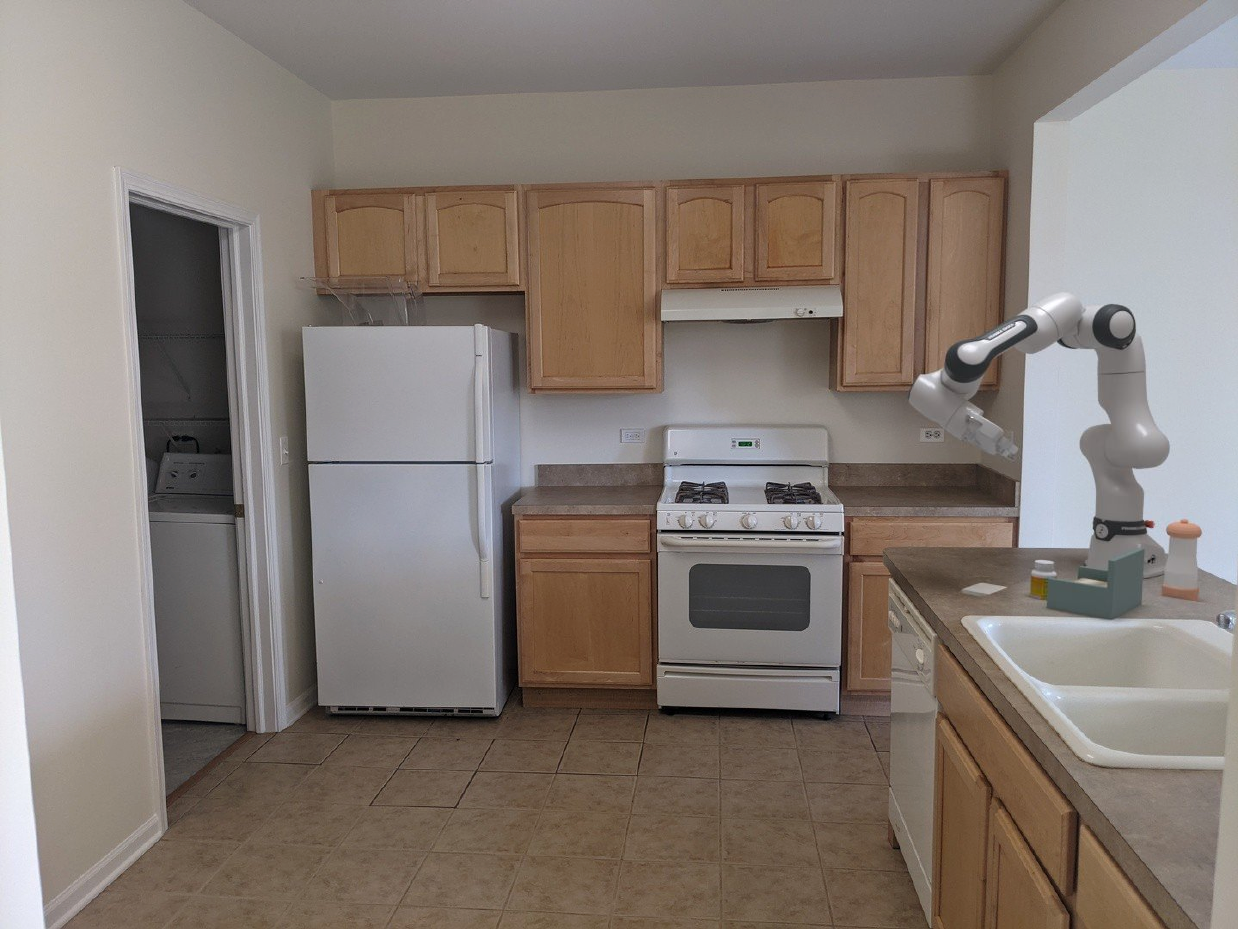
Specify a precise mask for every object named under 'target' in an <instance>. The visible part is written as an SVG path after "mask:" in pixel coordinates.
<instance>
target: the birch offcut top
mask: <svg viewBox="0 0 1238 929" xmlns="http://www.w3.org/2000/svg"><path fill="white" fill-rule="evenodd" d="M1073 582H1079V583H1085V584H1092V585H1098V586H1104V587H1107V582H1103V581H1097V580H1091V579H1085V578H1081V579H1078V578H1077V579H1075V580H1073Z"/></svg>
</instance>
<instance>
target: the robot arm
mask: <svg viewBox="0 0 1238 929" xmlns="http://www.w3.org/2000/svg"><path fill="white" fill-rule="evenodd" d="M1136 331H1137V323H1136V319H1135V316H1134V314H1133V312H1132V310H1130V308H1128V307H1127V306H1125V305H1120V304H1118V303H1117V304H1115V303H1109V304H1108V303H1107V304H1091V305H1086V306H1083V305H1082V302H1081V301H1080V299H1079V298H1078V297H1077V296H1076V295H1074V294H1073V293H1071V292H1068V291H1060V292H1059V291H1058V292H1055V293H1054V294H1051V295H1048V296H1047V297H1043V298H1042V299H1040V300H1039V301H1037V302H1035V303H1034V304H1032V305H1030V306H1029V307H1027V308H1025V309H1024V310H1023V311H1021V312H1020V313H1018V314H1017V315H1015V316H1014V317H1012V318H1009V319H1007V320H1006V321H1004V322H1002V323H1001V324H999V325H997V326H995V327H993V328H992V329H990V330H988V331H987V332H984V333H983V334H981V335H979V336H977V337H974V338H973V337H972V338H967V339H964V340H961V341H958V342H956V343H955V342H954V344H953V345H951V346H950V347H949V348H948V350H947V351H946V354H945V357H944V364H943V367H942V368H941V369H939V370H936V371H934V372H931V373H927V374H922V373H921V374H919V375H918V376H916V377H915V379H914V380H913V383H912V384H911V386H910V388H909V390H908V394H907V401H908V403H909V404H910V405H911V407H913V408H914V410H917V412H919V413H920V414H921V415H923V417H925V418H927V419H929V420H930V421H932V422H935V423H937V424H938V425H940V426H941V428H942V429H943V430H945V431H946V432H948V433H949V434H951V435H952V436H953V437H955V438H956V439H958V440H959V441H962V442H963V443H964V442H965V443H966V442H968V443H970V444H971V445H973V446H975V447H976V448H978V449H980V450H981V451H983V452H985V453H987V454H988V455H992V456H996V454H999V455H1000V456H1002V457H1005V458H1007V459H1008V460H1010V461H1011V462H1014V461H1016V459H1017V457H1018V454H1017V453H1018V451H1019V447H1018V446H1016V445H1015V444H1013V443H1012V442H1011V440H1009V439H1008V438H1007V437H1005V436H1004V434H1005V433H1004V429H1002V427H1000V426H998V425H996V424H995V423H993V422H992V421H990V420H989V419H987V418H985V417H983V415H984V410H982V409H981V408H980V407H977V406H976V405H975V404H974V403H972V402H971V401H969V400H971V399H972V397H974V396H975V395H976V394H977V393H978V390H979V388H980V386H981V383H982V380H983V378H984V376H985V374H986V372H987V371H988V369H989V367H990V365H991V363H992V361H993V360H994V359H995V358H997V357H998V356H1000V355H1002V354H1004V353H1006V352H1007V351H1009V350H1011V349H1012V348H1015V349H1016V350H1018V352H1021V353H1022V354H1026V355H1027V354H1028V355H1034V354H1037V353H1038V352H1041V351H1043V350H1045V349H1047V348H1048V347H1051V346H1052V345H1053V344H1055V343H1057V344H1058V345H1059V346H1062V347H1064V348H1065V349H1071V350H1079V349H1080V350H1094V351H1095V353H1096V356H1097V368H1096V369H1097V373H1096V374H1097V401H1098V405H1100V407H1101V408H1102V410H1104V411H1105V413H1106V415H1107V417H1108V419H1109V421H1110V423H1102V424H1097V425H1092V426H1090V427H1088V428H1086V429H1085V430H1083V432H1082V433H1081V436H1080V438H1079V450H1080V452H1081V453H1082V455H1083V456H1084V457H1085V458H1086V460H1087V461H1088V463H1089V466H1090V468H1091V472H1092V475H1093V479H1094V484H1095V515H1094V517H1093V519H1092V530H1093V534H1092V535H1091V538H1090V540H1089V541H1090V542H1089V548H1088V553H1087V559H1085V560H1084V564H1085V567H1091V568H1097V569H1104V570H1108V560H1110V559H1113V558H1115V557H1118V556H1120V555H1123V554H1125V553H1128V552H1130V551H1133V550H1135V549H1138V548H1142V549H1145V553H1144V570H1143V579H1145V578H1146V579H1149V578H1153V577H1157V576H1163V575H1164V573H1165V566H1166V551H1165V548H1164V547H1163V546H1162V545H1161V544H1160V543H1158V542H1157V541H1156V540H1154V539H1153V538H1152V537H1151V536H1150V535H1149V534H1148V529H1147V528H1149V529H1154V527H1155V525H1156V524H1155V521H1154V520H1148V519H1145V520H1144V505H1145V504H1144V503H1145V490H1144V488H1143V487H1142V486H1141V484H1140V483H1139V482H1138V481H1137V479H1136V476H1135V473H1134V471H1133V469H1134V470H1143V469H1144V470H1145V469H1152V468H1157V467H1159V466H1161V465H1162V464H1164V462H1165V461H1166V460H1167V459H1168V457H1169V454H1170V452H1171V451H1170V450H1171V448H1170V447H1171V446H1170V445H1171V444H1170V441H1169V439H1168V437H1167V436H1166V435H1165V433H1163V432H1162V431H1161V430H1160V429H1159V427H1158V426H1157V424H1156V422H1155V420H1154V418H1153V416H1152V415H1153V414H1152V412H1151V409H1150V406H1149V402H1148V394H1147V392H1148V391H1147V367H1146V366H1147V363H1146V354H1145V348H1144V344H1143V340H1142V336H1140V334H1139V333H1138V332H1136Z"/></svg>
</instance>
